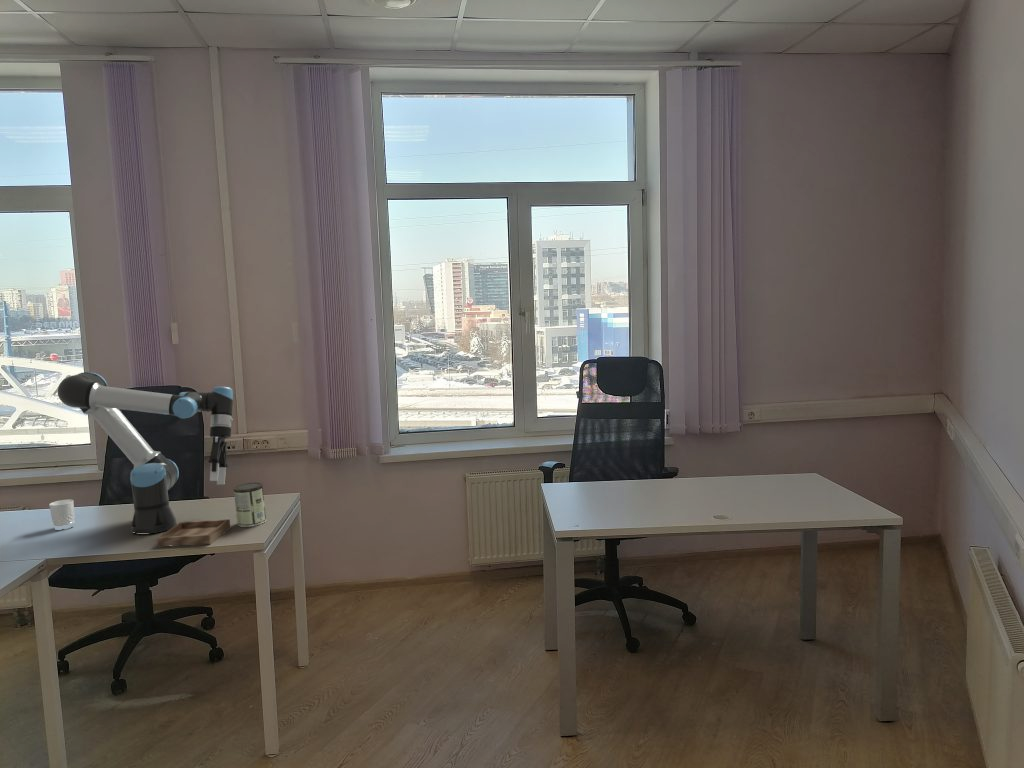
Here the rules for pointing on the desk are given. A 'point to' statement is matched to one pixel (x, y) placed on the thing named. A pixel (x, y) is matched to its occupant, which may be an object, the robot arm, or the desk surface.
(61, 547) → the desk surface
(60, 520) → the white cup
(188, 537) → the holder tray
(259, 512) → the coffee can
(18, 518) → the desk surface
